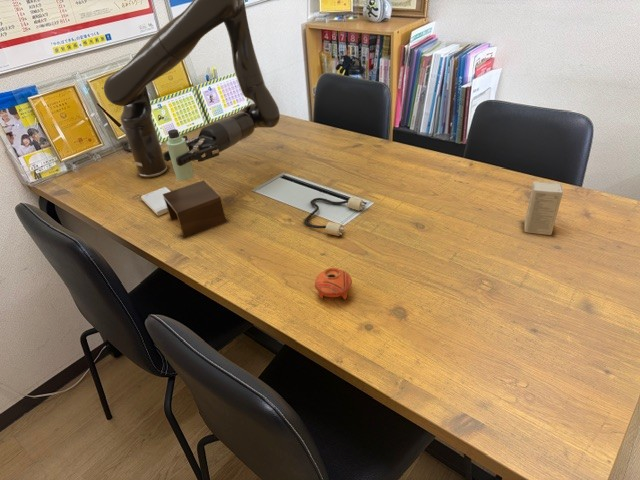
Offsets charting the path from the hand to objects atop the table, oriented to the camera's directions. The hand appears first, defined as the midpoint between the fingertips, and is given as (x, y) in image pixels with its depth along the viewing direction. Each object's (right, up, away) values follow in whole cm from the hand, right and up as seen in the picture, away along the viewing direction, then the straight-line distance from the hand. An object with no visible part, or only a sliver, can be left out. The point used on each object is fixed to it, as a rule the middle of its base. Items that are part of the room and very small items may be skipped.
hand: (171, 159), depth 112 cm
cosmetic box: (+91, -18, -1) cm, 93 cm away
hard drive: (-10, -9, +22) cm, 26 cm away
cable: (+40, -14, +9) cm, 43 cm away
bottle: (+2, -3, +5) cm, 7 cm away
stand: (+3, -14, +13) cm, 20 cm away
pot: (+40, -32, -15) cm, 53 cm away
